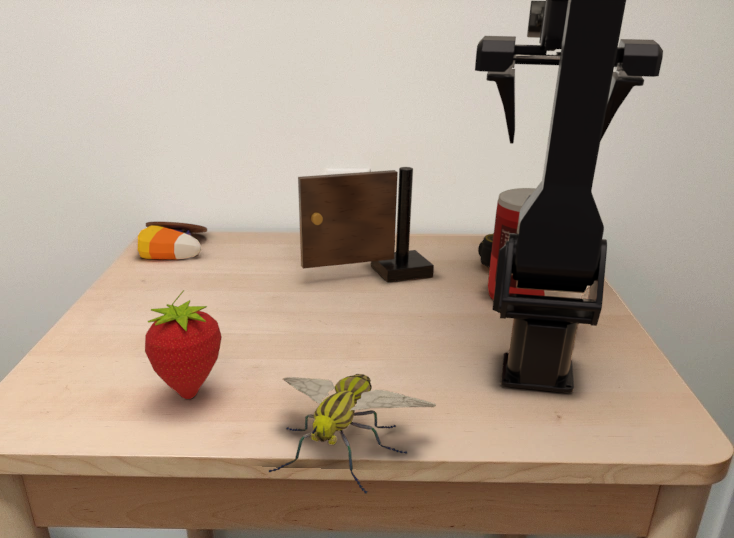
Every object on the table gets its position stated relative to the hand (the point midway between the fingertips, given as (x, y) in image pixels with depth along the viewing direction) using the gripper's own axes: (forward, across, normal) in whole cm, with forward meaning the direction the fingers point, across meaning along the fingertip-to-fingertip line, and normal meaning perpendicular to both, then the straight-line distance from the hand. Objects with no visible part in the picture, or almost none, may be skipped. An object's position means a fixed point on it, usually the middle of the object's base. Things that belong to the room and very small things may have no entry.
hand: (553, 144), depth 84 cm
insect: (+14, +16, +44) cm, 49 cm away
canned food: (+15, +2, +8) cm, 17 cm away
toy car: (+12, +48, -3) cm, 49 cm away
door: (+13, +22, +7) cm, 26 cm away
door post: (+15, +16, +3) cm, 22 cm away
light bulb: (+15, -2, +17) cm, 23 cm away
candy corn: (+13, +50, +3) cm, 52 cm away
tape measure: (+15, +4, -2) cm, 15 cm away
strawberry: (+14, +30, +39) cm, 51 cm away
